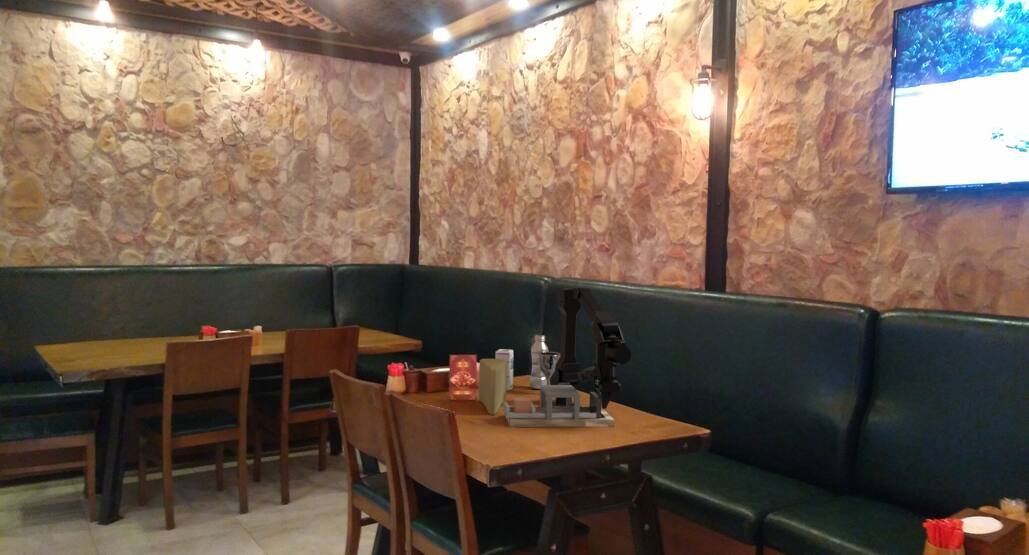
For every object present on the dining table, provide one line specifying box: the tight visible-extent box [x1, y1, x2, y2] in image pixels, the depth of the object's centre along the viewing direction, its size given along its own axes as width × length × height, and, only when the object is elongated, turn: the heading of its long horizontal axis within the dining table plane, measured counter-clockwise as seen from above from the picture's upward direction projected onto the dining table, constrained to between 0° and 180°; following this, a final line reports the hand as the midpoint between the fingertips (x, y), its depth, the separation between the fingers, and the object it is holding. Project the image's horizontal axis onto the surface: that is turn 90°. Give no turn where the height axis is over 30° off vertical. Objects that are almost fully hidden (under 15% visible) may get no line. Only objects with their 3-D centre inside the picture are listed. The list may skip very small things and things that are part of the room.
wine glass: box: [538, 351, 561, 396], centre depth 287 cm, size 8×8×15 cm
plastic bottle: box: [529, 334, 549, 390], centre depth 296 cm, size 6×7×20 cm
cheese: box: [478, 358, 508, 416], centre depth 263 cm, size 22×10×15 cm, turn 1°
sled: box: [502, 391, 602, 419], centre depth 247 cm, size 10×29×6 cm, turn 97°
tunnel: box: [539, 384, 581, 420], centre depth 247 cm, size 14×10×8 cm
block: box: [512, 396, 533, 413], centre depth 246 cm, size 5×5×5 cm
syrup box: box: [495, 348, 514, 392], centre depth 295 cm, size 6×6×14 cm
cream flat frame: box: [506, 409, 616, 428], centre depth 247 cm, size 14×32×2 cm, turn 97°
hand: (603, 408), depth 249 cm, fingers closed, pressing on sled
